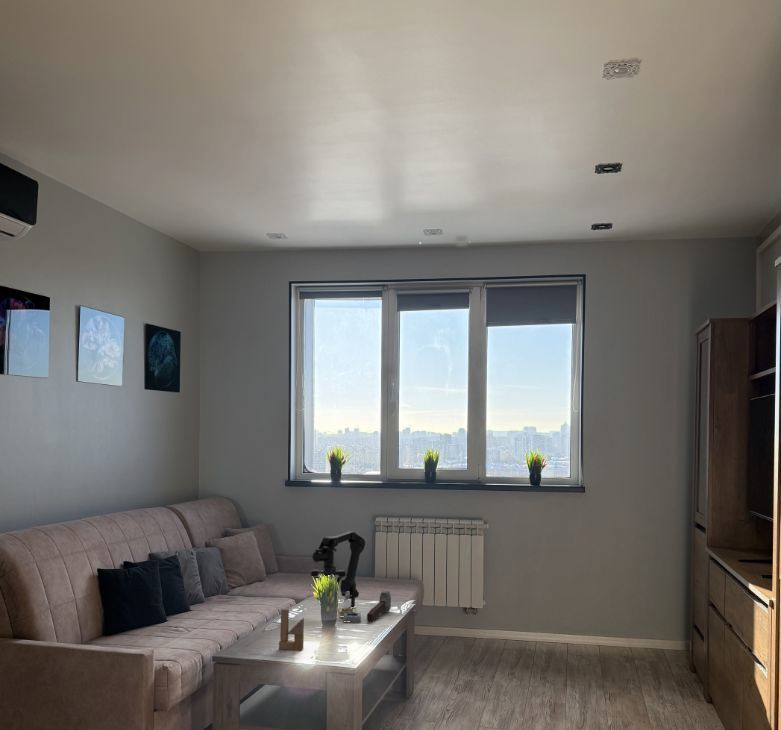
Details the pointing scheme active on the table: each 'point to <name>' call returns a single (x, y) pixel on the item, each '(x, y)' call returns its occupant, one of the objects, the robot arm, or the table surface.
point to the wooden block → (296, 631)
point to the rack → (346, 611)
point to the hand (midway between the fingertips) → (327, 589)
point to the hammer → (380, 606)
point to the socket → (352, 617)
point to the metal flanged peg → (347, 602)
